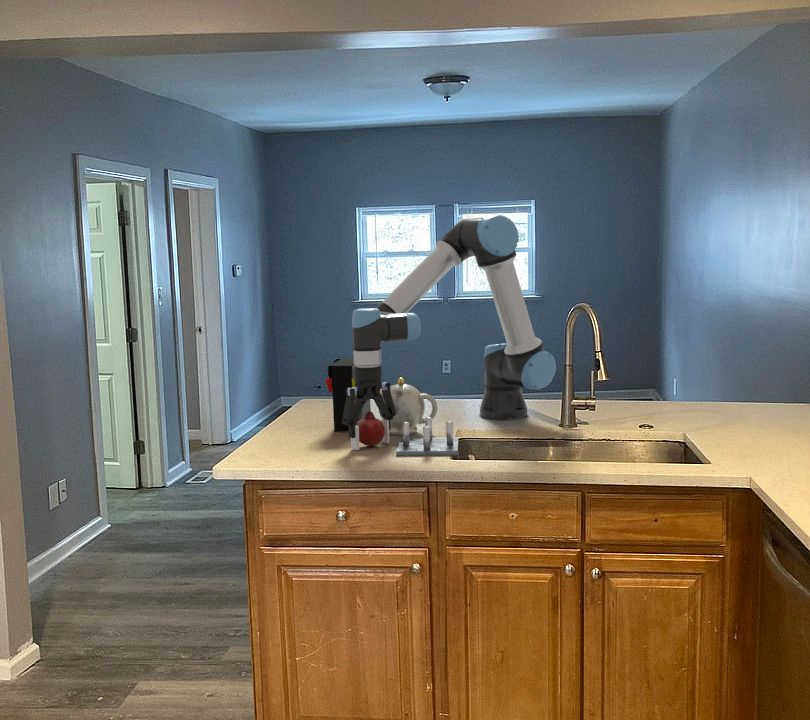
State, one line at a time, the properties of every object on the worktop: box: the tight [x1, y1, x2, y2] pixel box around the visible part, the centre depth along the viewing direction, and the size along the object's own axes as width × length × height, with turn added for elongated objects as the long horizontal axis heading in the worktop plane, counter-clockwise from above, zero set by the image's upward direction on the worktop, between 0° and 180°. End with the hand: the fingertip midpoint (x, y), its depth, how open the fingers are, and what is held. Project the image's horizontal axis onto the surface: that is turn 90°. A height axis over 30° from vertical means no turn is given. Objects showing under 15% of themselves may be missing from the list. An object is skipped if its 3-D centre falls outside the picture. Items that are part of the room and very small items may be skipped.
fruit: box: [357, 410, 385, 448], centre depth 232 cm, size 8×8×10 cm
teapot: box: [378, 377, 438, 436], centre depth 248 cm, size 18×14×16 cm
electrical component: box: [325, 357, 374, 433], centre depth 260 cm, size 18×10×20 cm, turn 168°
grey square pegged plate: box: [395, 416, 459, 457], centre depth 228 cm, size 16×16×7 cm
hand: (370, 445), depth 233 cm, fingers open, 10 cm apart
